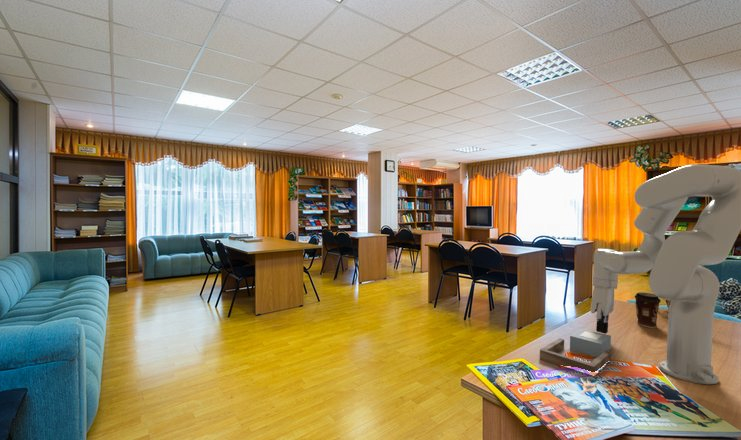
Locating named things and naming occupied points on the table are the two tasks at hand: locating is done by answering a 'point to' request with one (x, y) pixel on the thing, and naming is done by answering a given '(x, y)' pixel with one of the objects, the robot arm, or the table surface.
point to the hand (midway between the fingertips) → (601, 332)
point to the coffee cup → (647, 309)
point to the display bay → (553, 357)
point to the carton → (590, 342)
